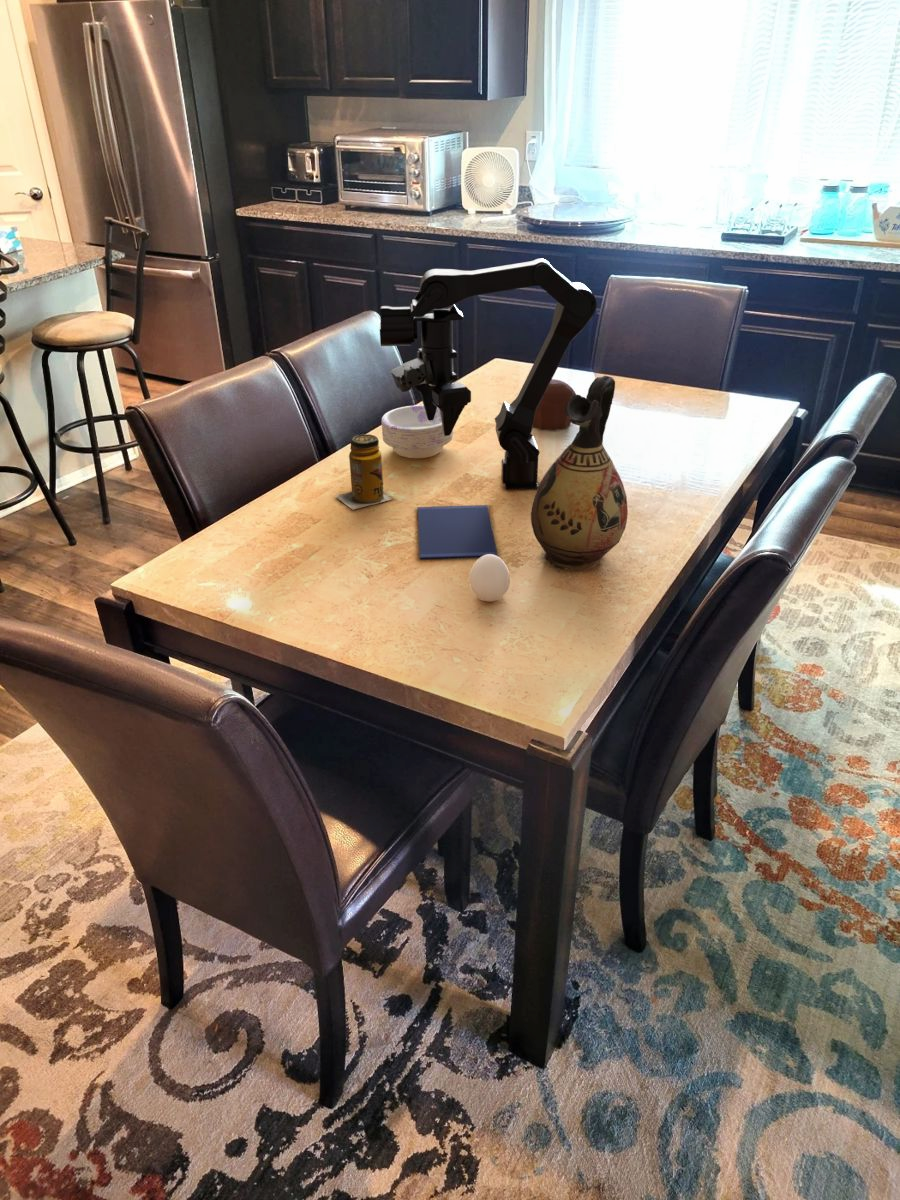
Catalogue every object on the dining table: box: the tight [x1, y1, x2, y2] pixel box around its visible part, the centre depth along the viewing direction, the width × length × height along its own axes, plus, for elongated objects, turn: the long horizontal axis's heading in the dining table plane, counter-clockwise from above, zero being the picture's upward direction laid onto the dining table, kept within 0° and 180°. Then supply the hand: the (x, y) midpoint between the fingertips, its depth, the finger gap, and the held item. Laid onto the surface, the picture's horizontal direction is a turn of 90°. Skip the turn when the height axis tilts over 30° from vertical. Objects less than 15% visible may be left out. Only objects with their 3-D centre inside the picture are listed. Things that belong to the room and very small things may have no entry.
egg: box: [469, 554, 511, 603], centre depth 129 cm, size 6×6×8 cm
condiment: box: [335, 433, 392, 511], centre depth 160 cm, size 7×8×12 cm
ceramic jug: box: [530, 374, 629, 572], centre depth 135 cm, size 17×15×30 cm
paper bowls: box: [381, 404, 454, 459], centre depth 182 cm, size 15×15×8 cm
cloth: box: [417, 504, 498, 561], centre depth 151 cm, size 13×20×1 cm, turn 3°
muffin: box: [533, 378, 577, 432], centre depth 196 cm, size 12×11×10 cm
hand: (438, 427), depth 162 cm, fingers open, 9 cm apart
